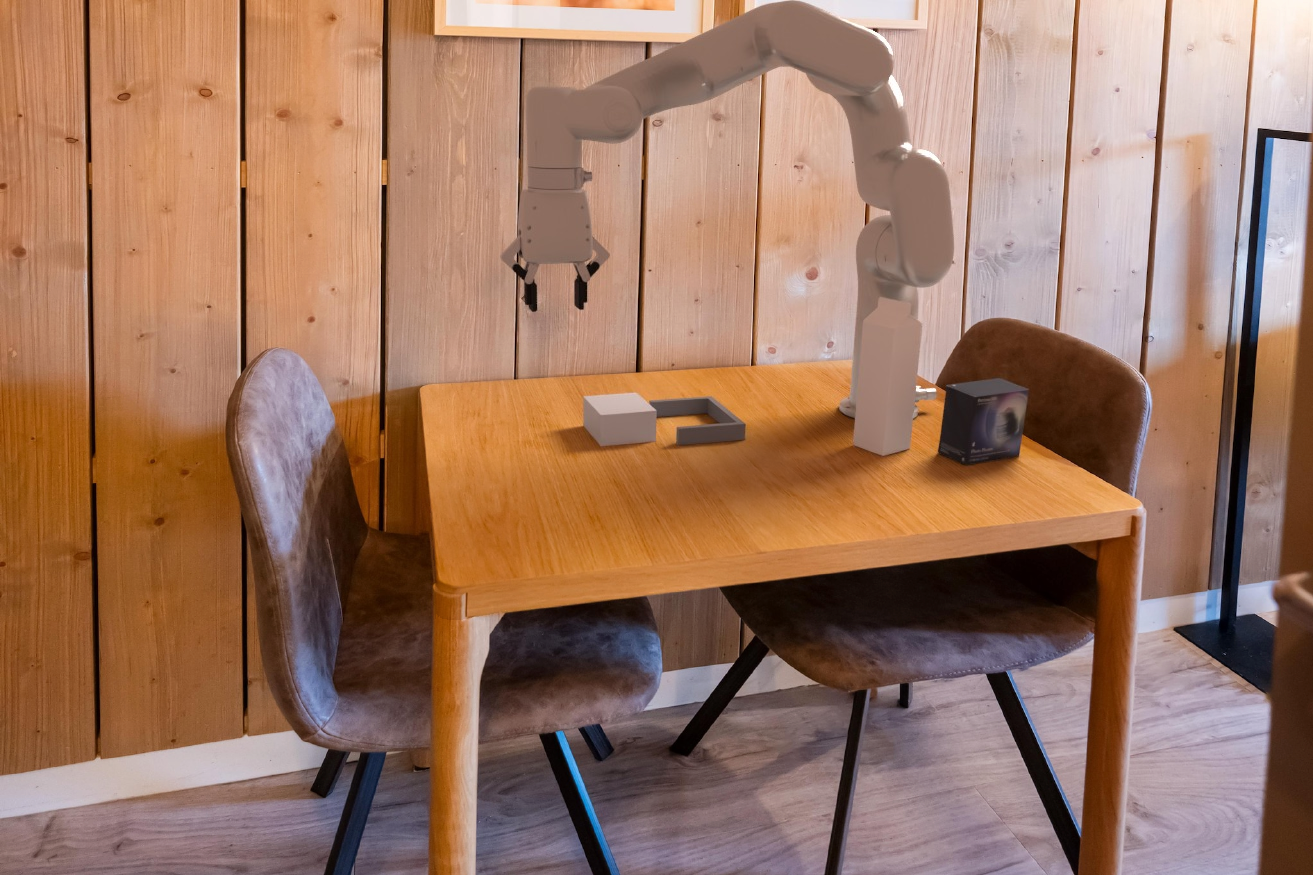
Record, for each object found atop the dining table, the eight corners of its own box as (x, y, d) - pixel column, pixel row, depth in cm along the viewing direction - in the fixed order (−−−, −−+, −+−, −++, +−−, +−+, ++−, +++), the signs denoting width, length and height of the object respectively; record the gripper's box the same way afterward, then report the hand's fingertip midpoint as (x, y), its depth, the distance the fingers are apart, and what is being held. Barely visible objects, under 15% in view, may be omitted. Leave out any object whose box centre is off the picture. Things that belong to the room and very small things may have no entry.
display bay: (711, 410, 174) (711, 396, 173) (744, 439, 160) (745, 423, 160) (649, 415, 171) (649, 400, 170) (678, 445, 157) (678, 428, 157)
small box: (967, 467, 151) (975, 396, 147) (935, 453, 156) (943, 384, 153) (1022, 457, 155) (1031, 387, 152) (989, 443, 161) (998, 376, 158)
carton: (635, 423, 168) (636, 392, 167) (656, 442, 159) (656, 410, 158) (583, 427, 166) (583, 396, 164) (600, 447, 157) (600, 415, 155)
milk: (882, 456, 154) (896, 306, 147) (851, 445, 159) (863, 298, 152) (911, 448, 158) (925, 301, 151) (879, 437, 162) (892, 294, 155)
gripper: (608, 177, 154) (608, 301, 159) (488, 178, 149) (491, 306, 154) (622, 182, 147) (621, 311, 152) (496, 183, 142) (500, 317, 148)
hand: (556, 307), depth 153 cm, fingers open, 6 cm apart
